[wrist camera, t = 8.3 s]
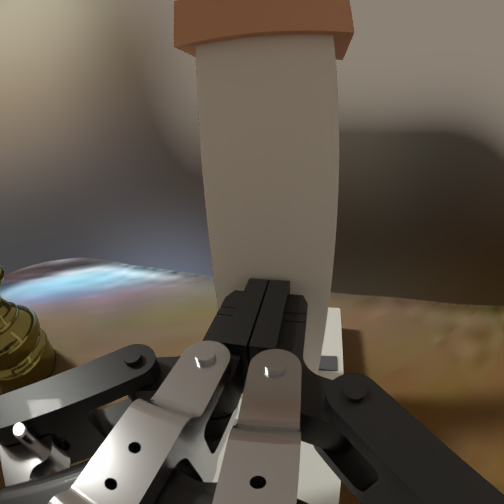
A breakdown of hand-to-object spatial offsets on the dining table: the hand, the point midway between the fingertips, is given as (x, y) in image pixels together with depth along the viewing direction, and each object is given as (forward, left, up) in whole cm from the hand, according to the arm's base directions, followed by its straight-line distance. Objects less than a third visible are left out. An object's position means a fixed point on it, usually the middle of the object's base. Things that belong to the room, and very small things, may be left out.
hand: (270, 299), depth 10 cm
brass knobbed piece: (-21, +4, -9) cm, 23 cm away
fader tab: (0, +1, -7) cm, 7 cm away
